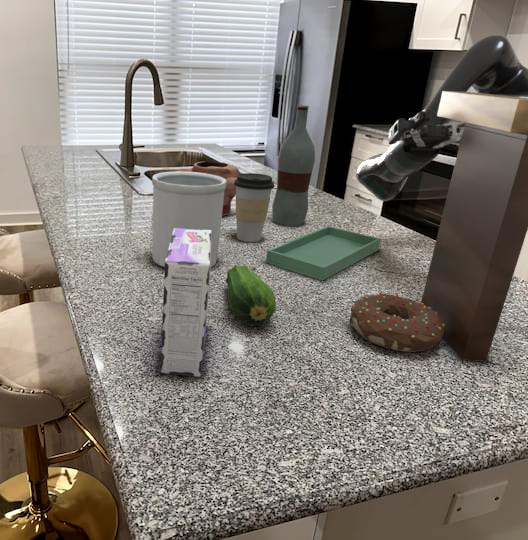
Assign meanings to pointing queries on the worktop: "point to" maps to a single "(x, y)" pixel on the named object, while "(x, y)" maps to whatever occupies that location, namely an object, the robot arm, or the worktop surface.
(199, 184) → the utensil holder
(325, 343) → the worktop surface
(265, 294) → the vegetable
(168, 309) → the candy box
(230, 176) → the decorative planter
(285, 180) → the vodka
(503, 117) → the beech stick
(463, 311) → the walnut stand
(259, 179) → the coffee cup
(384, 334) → the donut
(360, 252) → the tray
